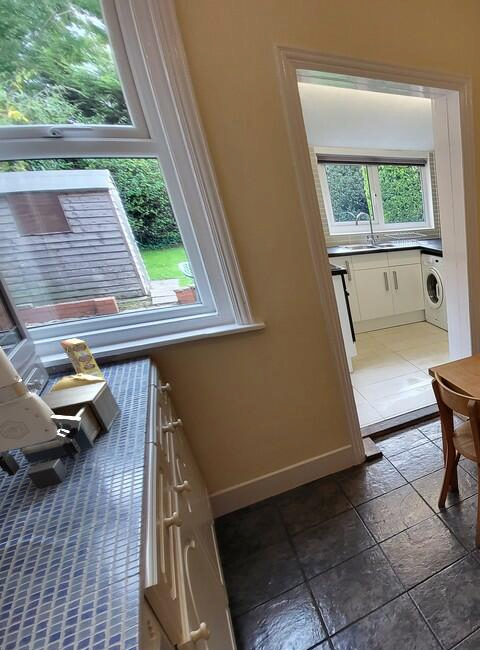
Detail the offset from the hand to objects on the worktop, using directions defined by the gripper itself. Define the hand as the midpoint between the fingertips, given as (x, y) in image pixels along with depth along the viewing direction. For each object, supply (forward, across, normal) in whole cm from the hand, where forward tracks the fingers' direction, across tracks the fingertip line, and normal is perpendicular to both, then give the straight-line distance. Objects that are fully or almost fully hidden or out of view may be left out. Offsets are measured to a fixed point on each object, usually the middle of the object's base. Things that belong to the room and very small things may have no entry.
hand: (46, 464), depth 89 cm
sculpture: (+4, -5, +45) cm, 45 cm away
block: (+4, -1, 0) cm, 4 cm away
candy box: (+4, -9, +71) cm, 72 cm away
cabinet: (+4, -2, +29) cm, 29 cm away
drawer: (+3, -2, +15) cm, 16 cm away
